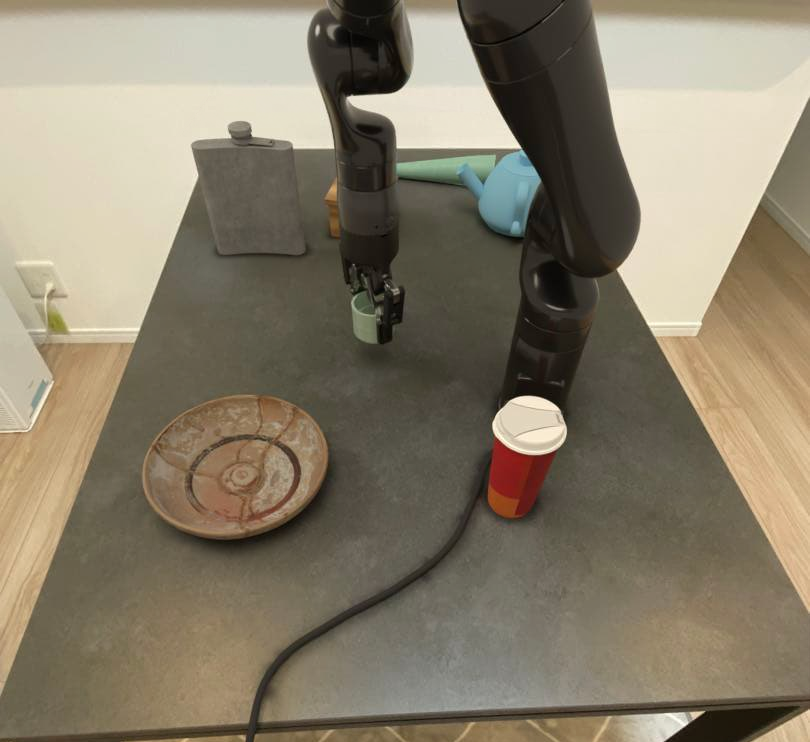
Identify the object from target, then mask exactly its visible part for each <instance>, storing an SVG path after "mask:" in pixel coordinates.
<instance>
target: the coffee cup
mask: <svg viewBox="0 0 810 742" xmlns="http://www.w3.org/2000/svg"><path fill="white" fill-rule="evenodd" d="M563 416H564V415H563ZM563 416H562V415H561V411H560V409H559V408H558V407H557V406H556V405H554V404H553V403H552V402H550V401H548V400H546V399H543V398H540V397H535V396H522V397H517V398H514V399H512V400H510V401H509V402H508V403H507V404H506V405H505V406H504V407H503V408H502V409H501V410H500V411H499V410H498V412H497V413H496V415H495V417H494V419H493V421H492V425H491V426H492V427H491V428H492V432H493V434H494V441H493V447H492V449H493V455H492V461H491V462H490V472H489V479H488V488H487V490H488V491H487V502H488V505H489V507H490V508H491V509H492V511H493V512H495V513H496V514H497V515H500V516H501V517H503V518H508V519H518V518H521V517H523V516H526V514H528V513H529V512H530V511H531V509H532V507H533V506H534V503H535V502H536V499H537V498H538V495H539V493H540V491H541V488H542V486H543V483H544V482H545V480H546V477H547V475H548V473H549V470H550V468H551V466H552V464H553V461H554V458H555V456H556V454H557V452H558V450H559V448H560V447H562V446H563V444H564V442H565V441H566V438H567V434H568V433H567V432H568V428H567V425H566V422H565V419H564V417H563Z"/></svg>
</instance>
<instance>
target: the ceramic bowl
mask: <svg viewBox="0 0 810 742" xmlns="http://www.w3.org/2000/svg"><path fill="white" fill-rule="evenodd" d="M144 457H145V458H144V460H143V465H142V473H141V481H142V488H143V491H144V494H145V497H146V500H147V502H148V504H149V505H150V507H151V508H152V509H153V511H154V512H155V513H156V514H157V515H158V516H159V517H160V518H161V519H162V520H163V521H164V522H166V523H167V524H168V525H170V526H171V527H173V528H175V529H177V530H179V531H182V532H184V533H187V534H188V535H189V534H190V535H192V536H196V537H200V538H204V539H210V540H212V539H213V540H227V541H228V540H238V539H245V538H249V537H250V538H251V537H253V536H257V535H261V534H263V533H267V532H269V531H272V530H274V529H277V528H279V527H281V526H282V525H284V524H286V523H288V522H289V521H290V520H292V519H293V518H295V517H296V516H297V515H299V514H300V513H301V512H302V511H303V510H304V509H306V508H307V506H309V504H310V503H311V502H312V501H313V499H314V498H315V497H316V496H317V494H318V493H319V491H320V489H321V487H322V485H323V484H324V481H325V479H326V475H327V472H328V467H329V447H328V443H327V440H326V437H325V434H324V432H323V430H322V429H321V427H320V426H319V424H318V423H317V421H316V420H315V419H314V418H313V417H312V416H311V415H310V414H308V412H306V411H305V410H304V409H302V408H300V406H297V405H296V404H294V403H291V402H289V401H286V400H284V399H281V398H278V397H274V396H270V395H263V394H238V395H230V396H224V397H219V398H215V399H212V400H209V401H206V402H203V403H201V404H199V405H197V406H194V407H192V408H190V409H188V410H186V411H185V412H182V413H181V414H179V415H178V416H177V417H176V418H174V419H172V421H170V422H169V423H168V424H167V425H166V426H165V427H164V428H163V429H162V430H161V431H160V432H159V433H158V434H157V436H156V437H155V439H154V440H153V441H152V443H151V445H150V447H149V449H148V451H147V453H146V454H145V456H144Z"/></svg>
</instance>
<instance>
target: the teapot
mask: <svg viewBox="0 0 810 742" xmlns="http://www.w3.org/2000/svg"><path fill="white" fill-rule="evenodd" d="M456 174H457V175H458V176H459V178H460V179H461V180H462V181H463V183H464V184H465V185H466V186H465V187H466V188H467V189H468V190H469V192H470V193H471V194H472V195H473V196H474V198H475V199H476V201H478V203H477V208H478V213H479V215H480V216H481V218H482V220H483V221H484V222H485V224H486V225H487V226H488V228H490V229H491V230H493V231H494V232H495V233H497V234H498V233H499V234H501V235H503V236H508V237H513V238H514V237H515V238H524V233H525V227H526V221H527V216H528V211H529V207H530V204H531V201H532V198H533V196H534V193H535V191H536V189H537V187H538V185H539V183H540V182H541V179H540V177H539V176H538V174H537V172H536V170H535V168H534V167H533V165H532V164H531V162H530V161H529V159H528V157H527V156H526V154H525V153H524V151H523V150H522V149H520V150H519V151H516V152H510V153H508V154H506V155H504V156H503V157H502V158H501V159H500V160H499V161H498V163H496V164H495V167H494V169H493V170H492V172H491V173H490V175H489V176H488V178H487V179H486V181H485V183H484V185H483V184H482V183H481V182H480V180H479V179H478V177H477V176H476V175H475V173H474V172H473V171H472V169H471V168H470V167H469V165H468V164H467V163H465V164H463V165H462V166H461V167H460V168H459V169H458V171H457V173H456Z"/></svg>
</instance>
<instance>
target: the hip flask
mask: <svg viewBox="0 0 810 742" xmlns="http://www.w3.org/2000/svg"><path fill="white" fill-rule="evenodd" d="M227 132H228V134H229V135H230V137H226V138H225V137H224V138H207V139H197V140H195V141H193V142H191V144H190V148H191V152H192V156H193V159H194V163H195V167H196V171H197V175H198V178H199V179H198V180H199V183H200V186H201V191H202V194H203V199H204V202H205V206H206V210H207V214H208V218H209V222H210V225H211V230H212V233H213V237H214V241H215V246H216V248H217V252H218V254H219V255H221V256H232V255H241V254H242V255H243V254H279V255H290V256H301V255H303V254H305V253H306V251H307V248H306V240H305V232H304V224H303V216H302V209H301V208H302V207H301V201H300V192H299V184H298V177H297V169H296V168H297V167H296V161H295V153H294V145H293V143H292V142H291V141H289V140H283V139H274V138H267V137H259V136H253V134H252V132H253V129H252V124H251V123H250V122H249V121H246V120H235V121H231V122H230V123H229V124H228V125H227Z"/></svg>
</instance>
